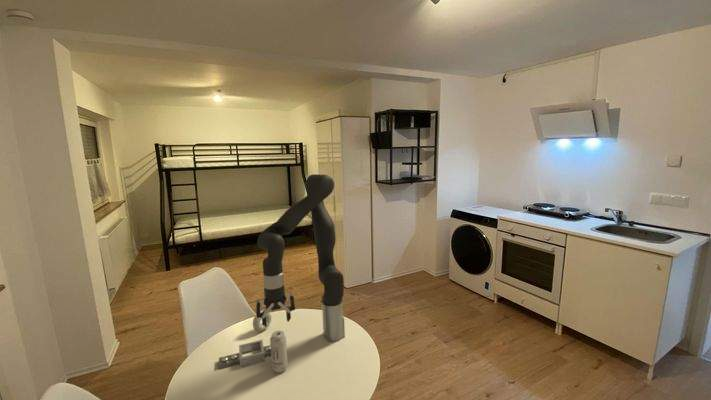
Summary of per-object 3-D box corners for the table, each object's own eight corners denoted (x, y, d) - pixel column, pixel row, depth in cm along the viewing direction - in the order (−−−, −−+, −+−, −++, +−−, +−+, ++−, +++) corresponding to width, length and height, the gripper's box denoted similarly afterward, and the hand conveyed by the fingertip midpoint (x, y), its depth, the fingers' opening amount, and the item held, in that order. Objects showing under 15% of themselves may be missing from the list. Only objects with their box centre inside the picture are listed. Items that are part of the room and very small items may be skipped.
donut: (269, 324, 153) (267, 305, 151) (273, 326, 151) (272, 307, 149) (252, 334, 145) (250, 314, 143) (256, 336, 143) (254, 316, 141)
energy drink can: (269, 371, 120) (266, 337, 118) (278, 361, 126) (275, 328, 123) (282, 375, 118) (279, 340, 116) (290, 365, 124) (288, 331, 121)
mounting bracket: (281, 342, 138) (280, 335, 138) (284, 355, 130) (284, 348, 129) (219, 357, 129) (218, 350, 129) (218, 372, 120) (217, 364, 120)
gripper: (291, 276, 122) (293, 314, 125) (253, 283, 117) (256, 322, 120) (294, 284, 115) (297, 324, 118) (254, 291, 110) (258, 332, 113)
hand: (276, 323), depth 119 cm, fingers open, 8 cm apart
